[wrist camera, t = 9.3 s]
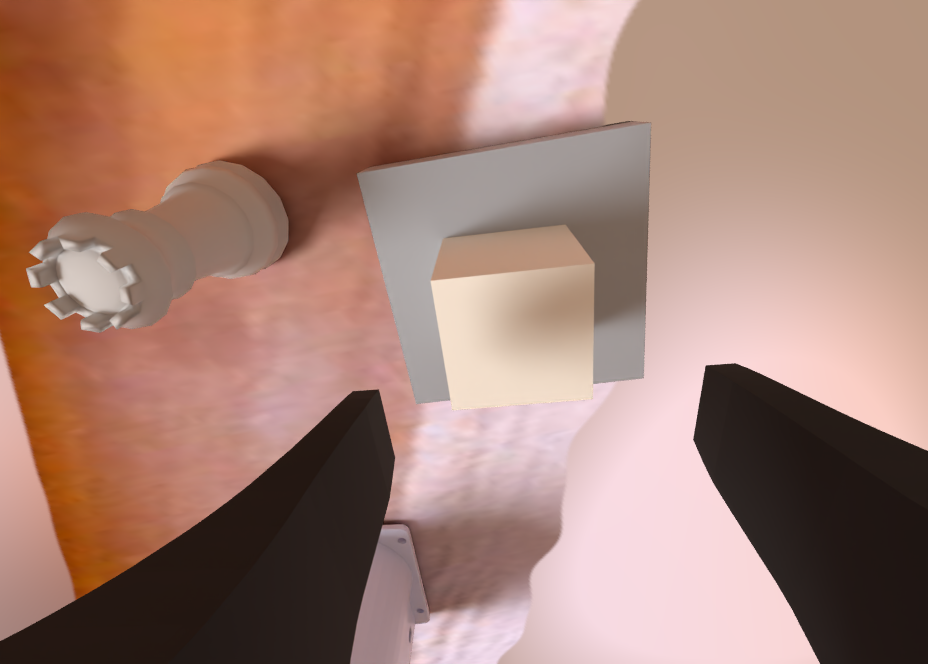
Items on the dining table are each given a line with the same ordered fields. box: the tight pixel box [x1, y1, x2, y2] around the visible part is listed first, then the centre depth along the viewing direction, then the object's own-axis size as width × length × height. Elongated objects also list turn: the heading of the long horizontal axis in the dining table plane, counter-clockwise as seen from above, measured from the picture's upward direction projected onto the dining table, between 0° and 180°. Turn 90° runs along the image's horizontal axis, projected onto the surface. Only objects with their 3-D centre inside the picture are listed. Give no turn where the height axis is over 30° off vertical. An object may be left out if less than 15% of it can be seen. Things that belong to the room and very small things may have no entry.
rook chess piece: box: [26, 160, 288, 333], centre depth 14 cm, size 4×4×8 cm
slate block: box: [356, 121, 651, 404], centre depth 18 cm, size 10×10×2 cm
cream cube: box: [431, 224, 595, 410], centre depth 15 cm, size 4×4×4 cm
